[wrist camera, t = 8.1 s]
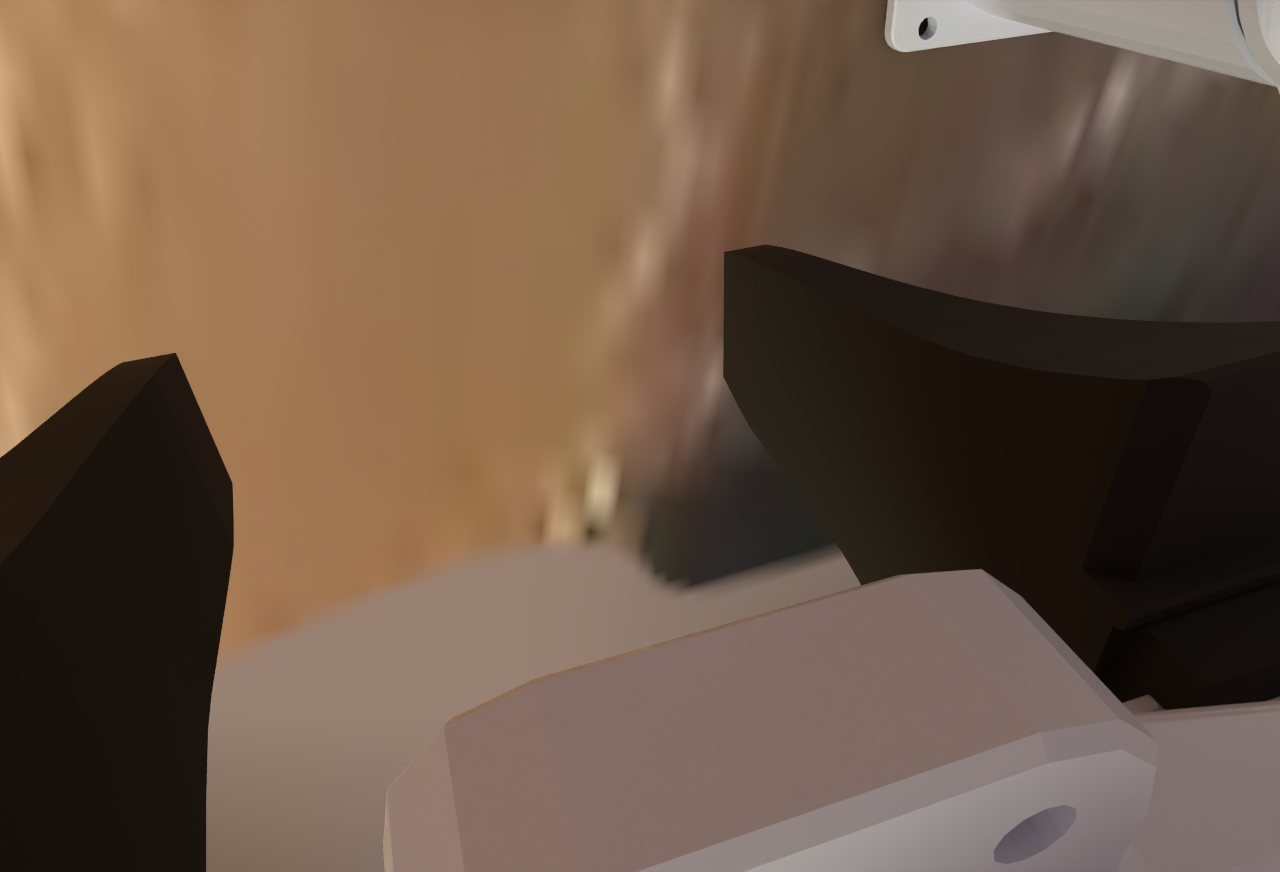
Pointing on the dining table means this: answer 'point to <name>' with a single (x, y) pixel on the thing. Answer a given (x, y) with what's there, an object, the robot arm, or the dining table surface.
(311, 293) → the dining table surface
